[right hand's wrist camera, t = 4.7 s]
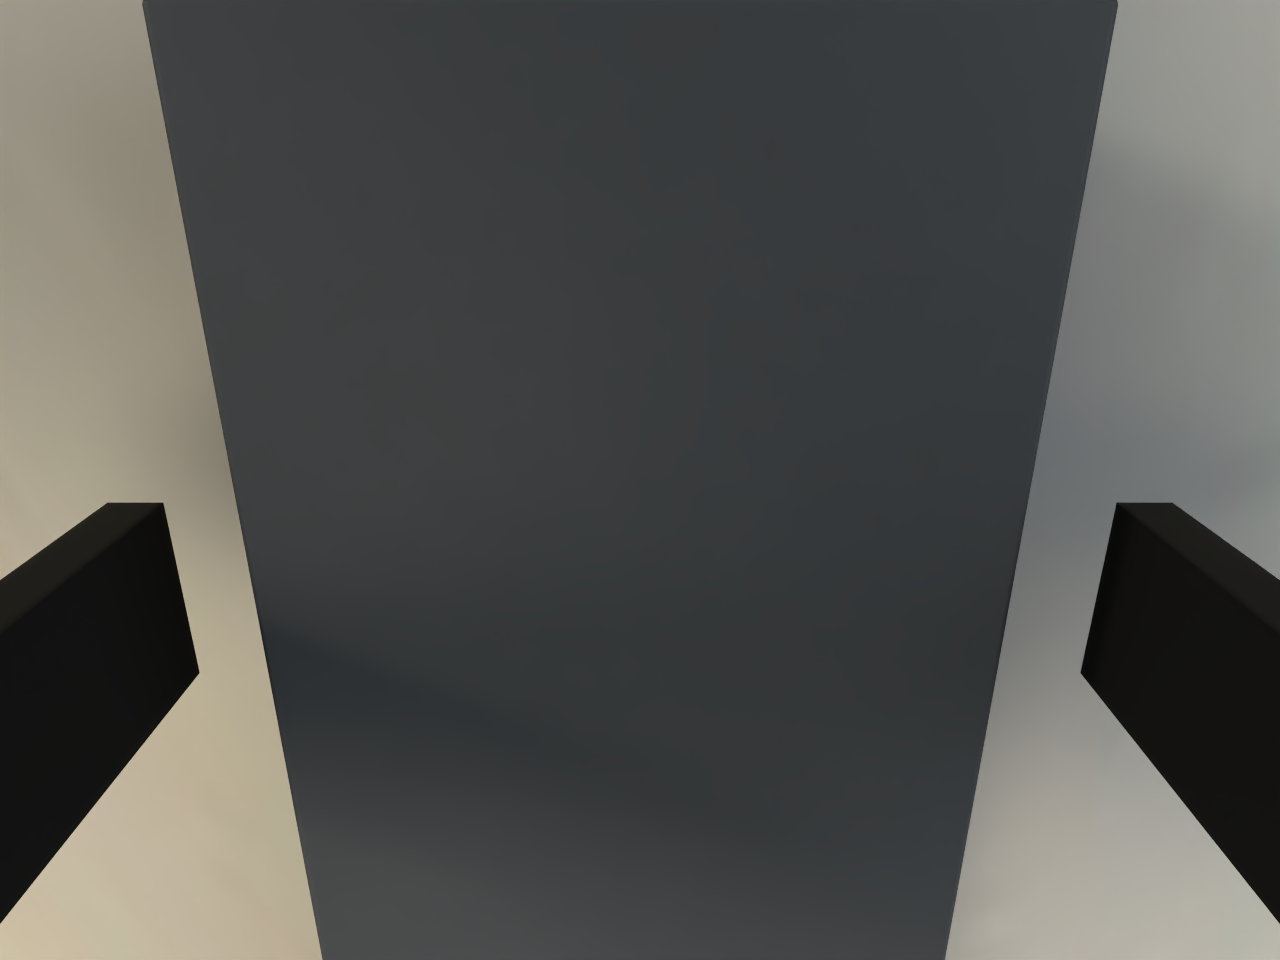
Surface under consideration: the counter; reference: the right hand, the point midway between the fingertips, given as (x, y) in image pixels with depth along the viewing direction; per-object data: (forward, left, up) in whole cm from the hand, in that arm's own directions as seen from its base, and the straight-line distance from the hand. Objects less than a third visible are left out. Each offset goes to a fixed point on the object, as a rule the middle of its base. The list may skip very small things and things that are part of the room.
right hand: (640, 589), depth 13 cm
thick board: (+12, -22, -5) cm, 26 cm away
